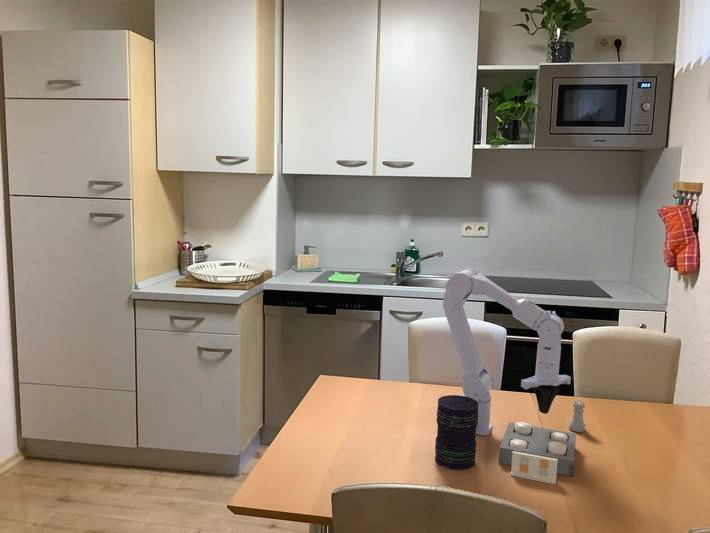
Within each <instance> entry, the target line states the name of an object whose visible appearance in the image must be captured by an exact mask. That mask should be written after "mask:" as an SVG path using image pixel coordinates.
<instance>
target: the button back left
mask: <svg viewBox="0 0 710 533" xmlns="http://www.w3.org/2000/svg"><path fill="white" fill-rule="evenodd" d="M531 426H532V425H531V424H530V423H528V422H525V421H517V422H515V433H520V434H526V435H531Z"/></svg>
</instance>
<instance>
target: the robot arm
mask: <svg viewBox="0 0 710 533" xmlns="http://www.w3.org/2000/svg"><path fill="white" fill-rule="evenodd" d="M471 295H472V296H481V295H482V296H486V297H488V298H489V299H492V300H493V301H495V302H497V303H498V304H501V305H502V306H504V307H505V308H507V309H508V310H510V311H511V314H512V317H513V318H515V319H516V320H517V321H520V322H521V323H523V324H524V325H525V326H527V327H529V328H530V329H532V330H533V331H536V332H537V334H538V343H537V350H536V363H535V374H534V375H533V376H531V377H530V376H529V377H528V378H525V379H521V381H520V387H521V388H522V389H524V390H529V389H530V388H532V390H533V392H534V395H535V397H536V401H537V406H538V412H540V413H541V414H544V415H545V414H546V415H547V414H549V412H550V410H551V406H552V404H553V402H554V401H555V399H556V396H557V395H558V394H559V393H560V387H558V386H560V385H564V384H565V385H571V380H572V377H571V376H570V375H567V374H559V372H560V364H561V363H560V362H561V351H562V345H561V343H562V333H563V331H564V329H565V325H564V324H565V323H564V321H563V319H562V318H561V317H560V316H559V315H558V314H556V313H555V314H554V313H551V311H549V310H545V309H543V308H541V307H540V306H538V305H537V304H536V303H535V300H533V299H532V298H530V299H529V300H528V299H527V298H521V299H519V298H516V297H515V296H514V295H512V294H511V293H509V292H508V291H506V290H505V289H504V288H502V287H501V286H499V285H498V284H496V283H495V282H493V281H492V280H491V279H489V278H488V277H486V276H485V275H483V274H482V273H478V272H477V271H476V270H474V269H472V268H465V269H463V270H462V271H459V272H455V273H452V275H450V277H449V279H448V280H447V281H446V283H445V292H444V297H443V302H442V308H443V310H444V314H445V318H446V320H447V323H448V326H449V329H450V332H451V335H452V338H453V339H452V340H453V341H454V345H455V348H456V351H457V353H458V354H457V355H458V357H459V360H460V363H461V366H462V370H461V379H462V392H463V394H458V395H459V396H466V397H469V398H472V399H474V400H476V401H477V402H478V424H477V428H476V435H479V436H489V434H490V432H491V430H492V427H493V424H492V423H490V421H491V420H490V418H491V407H492V405H491V403H492V396H491V394H490V390H492V389H493V386H494V382H495V381H494V378H493V376H492V374H491V373H490V372H489V371H488V368H487V367H486V364H485V363H484V362H483V361H482V360H481V358H480V354H479V351H478V347H477V345H476V342H475V340H474V336H473V333H472V330H471V327H470V323H469V321H468V318H467V314H466V311H465V309H464V305H465V304H466V301H467V300H468V299H469V296H471Z"/></svg>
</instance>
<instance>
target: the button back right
mask: <svg viewBox="0 0 710 533" xmlns="http://www.w3.org/2000/svg"><path fill="white" fill-rule="evenodd" d="M567 438H568V436H567V435H565V434H563V433H558V432H555V433H552V434H551V439H555V440H561V441H567Z"/></svg>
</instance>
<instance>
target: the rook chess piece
mask: <svg viewBox="0 0 710 533" xmlns="http://www.w3.org/2000/svg"><path fill="white" fill-rule="evenodd" d="M584 403H585V402H584V401H582V400H580V401H579V399H578V400H574V402H573V403H572V407H573V408H572V409H573V410H572V411H573V413H572V414H573V415H572V418H571V420H570V421H569V423H568V424H569V425H568V428H569V430H570V431H571V432H573V433H574V432H575V433H584V432H585V431H586V423H585V421H584V417H583V416H584V414H583V413H584V412H585V410H584V408H585V407H586V405H585V404H584Z"/></svg>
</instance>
